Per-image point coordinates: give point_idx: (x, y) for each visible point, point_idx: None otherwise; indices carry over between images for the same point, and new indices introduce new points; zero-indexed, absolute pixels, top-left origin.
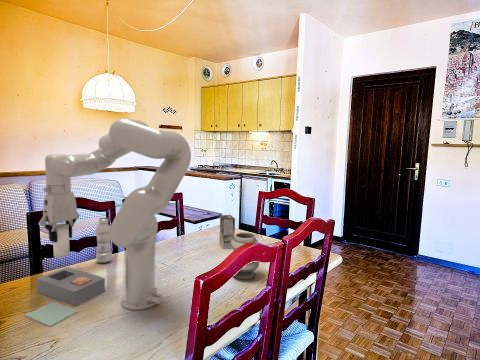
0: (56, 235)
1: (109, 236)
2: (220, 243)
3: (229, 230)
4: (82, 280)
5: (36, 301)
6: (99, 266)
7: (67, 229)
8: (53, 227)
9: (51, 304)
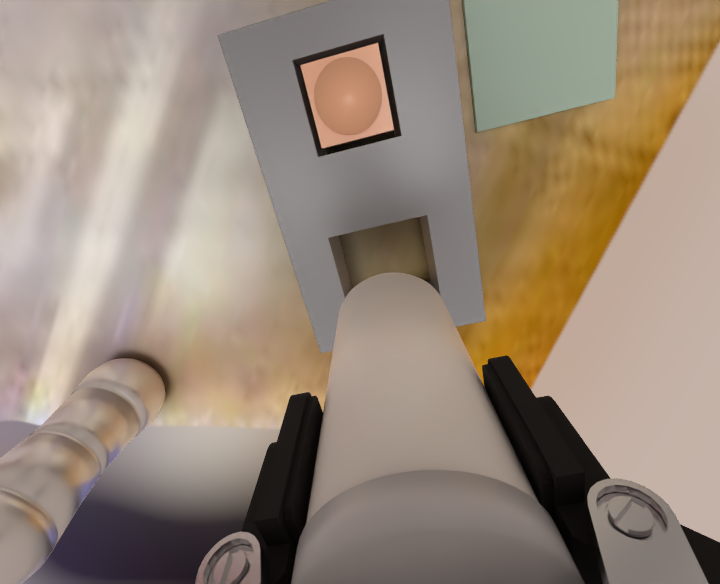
0: (523, 414)
1: None
2: None
3: None
4: (353, 63)
5: (511, 205)
6: (173, 349)
7: (353, 468)
8: (669, 568)
9: (496, 109)
